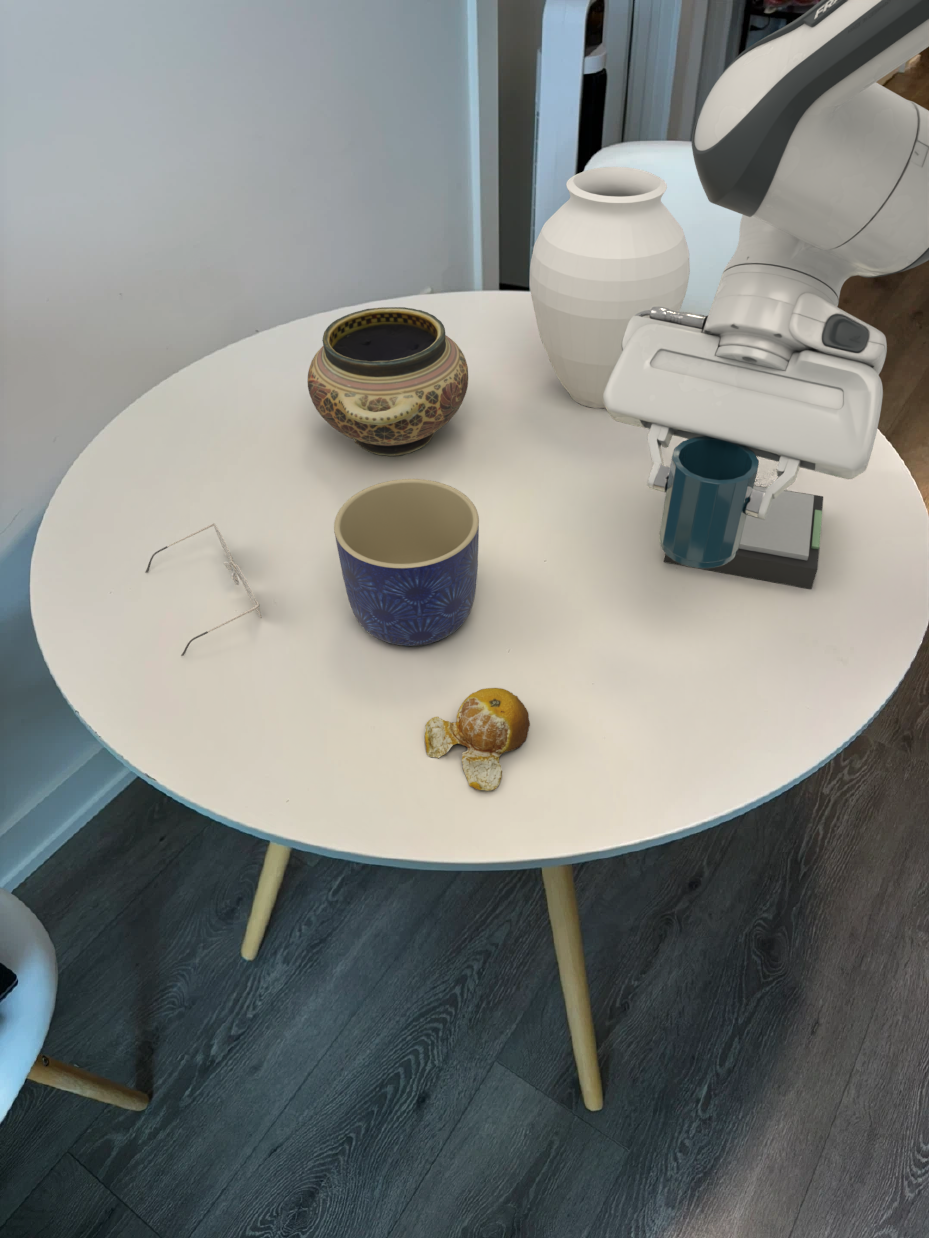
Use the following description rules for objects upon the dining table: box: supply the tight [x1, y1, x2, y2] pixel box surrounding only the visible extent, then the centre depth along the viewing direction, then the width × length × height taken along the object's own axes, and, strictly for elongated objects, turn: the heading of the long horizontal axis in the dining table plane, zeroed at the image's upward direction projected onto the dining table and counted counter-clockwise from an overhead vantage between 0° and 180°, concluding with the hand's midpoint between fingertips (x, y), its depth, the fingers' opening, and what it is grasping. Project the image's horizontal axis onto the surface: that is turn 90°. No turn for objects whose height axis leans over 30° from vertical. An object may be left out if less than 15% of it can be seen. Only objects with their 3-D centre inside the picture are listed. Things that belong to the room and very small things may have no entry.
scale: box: [663, 484, 824, 590], centre depth 92 cm, size 14×12×3 cm
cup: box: [658, 436, 760, 569], centre depth 71 cm, size 6×6×8 cm
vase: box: [529, 166, 691, 409], centre depth 106 cm, size 18×18×25 cm
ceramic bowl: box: [307, 306, 469, 457], centre depth 104 cm, size 24×18×15 cm
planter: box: [333, 478, 480, 647], centre depth 82 cm, size 12×12×11 cm
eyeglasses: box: [145, 522, 262, 657], centre depth 87 cm, size 14×8×4 cm, turn 28°
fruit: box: [424, 687, 531, 792], centre depth 74 cm, size 8×8×4 cm
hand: (705, 503), depth 70 cm, fingers closed on cup, 6 cm apart
